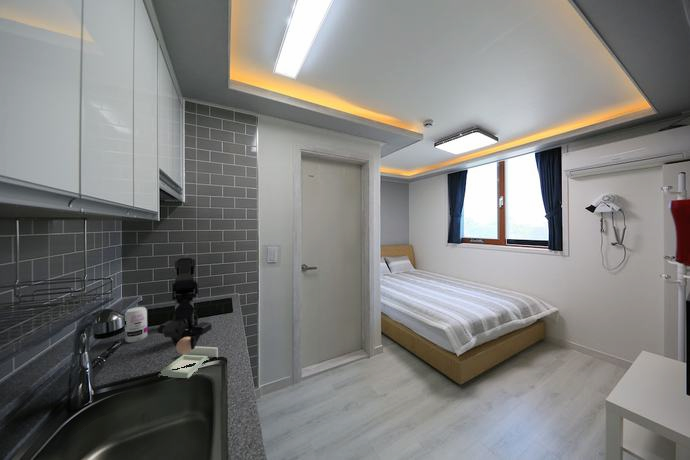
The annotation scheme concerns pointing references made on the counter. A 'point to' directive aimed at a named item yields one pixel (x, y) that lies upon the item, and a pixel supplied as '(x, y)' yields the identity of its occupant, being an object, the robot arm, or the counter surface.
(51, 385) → the counter surface
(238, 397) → the counter surface
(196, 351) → the low wall
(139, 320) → the supplement can
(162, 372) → the sage mat
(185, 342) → the ball
